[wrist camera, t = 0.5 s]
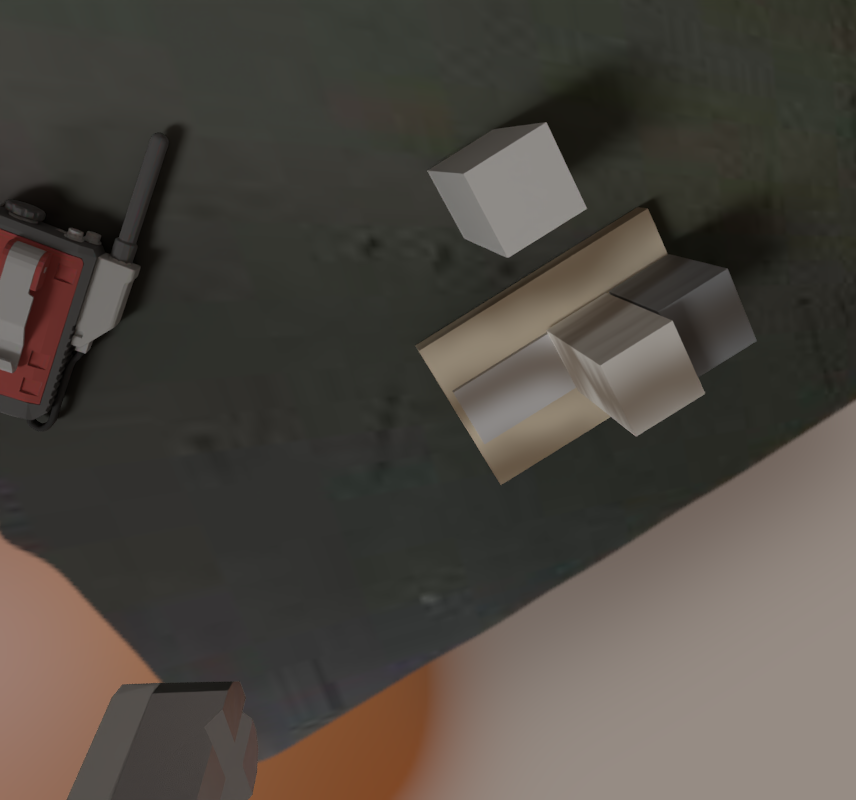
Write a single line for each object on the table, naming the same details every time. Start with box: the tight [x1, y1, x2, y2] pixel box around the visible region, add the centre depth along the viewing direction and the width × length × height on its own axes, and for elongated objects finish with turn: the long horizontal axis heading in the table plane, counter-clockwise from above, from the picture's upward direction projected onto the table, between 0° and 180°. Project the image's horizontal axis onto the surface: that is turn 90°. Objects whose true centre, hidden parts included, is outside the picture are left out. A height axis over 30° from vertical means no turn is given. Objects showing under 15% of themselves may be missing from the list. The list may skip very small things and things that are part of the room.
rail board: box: [415, 207, 756, 485], centre depth 47 cm, size 12×18×11 cm, turn 120°
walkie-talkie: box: [0, 133, 169, 431], centre depth 42 cm, size 9×4×20 cm
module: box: [427, 122, 587, 258], centre depth 43 cm, size 5×5×10 cm
